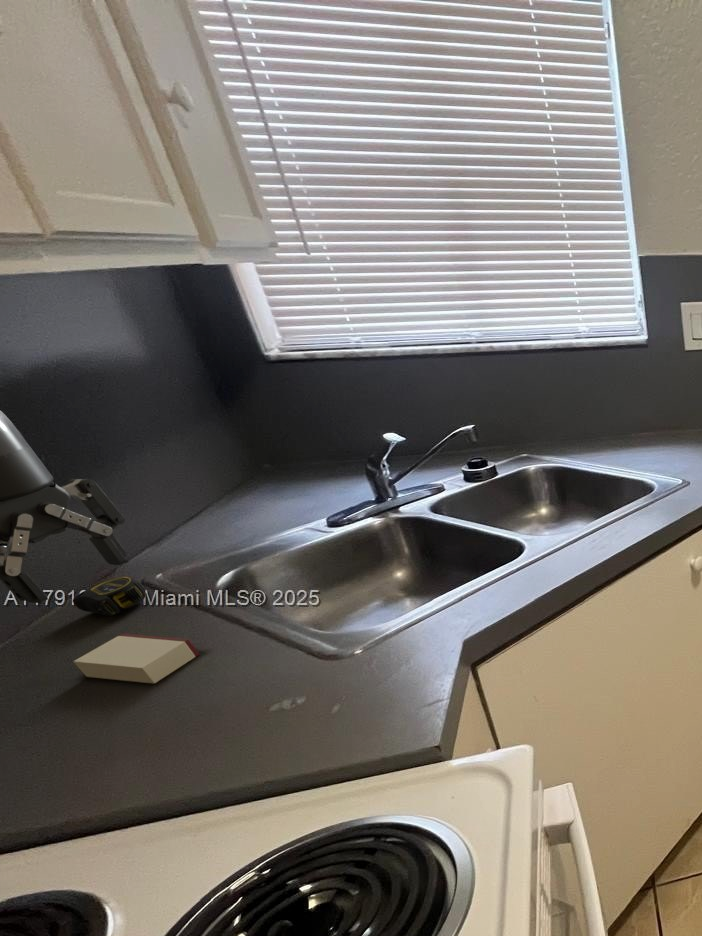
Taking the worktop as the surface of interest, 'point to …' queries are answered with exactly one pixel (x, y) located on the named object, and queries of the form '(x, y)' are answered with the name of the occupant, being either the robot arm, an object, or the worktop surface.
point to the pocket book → (137, 658)
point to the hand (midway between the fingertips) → (80, 581)
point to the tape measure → (111, 596)
